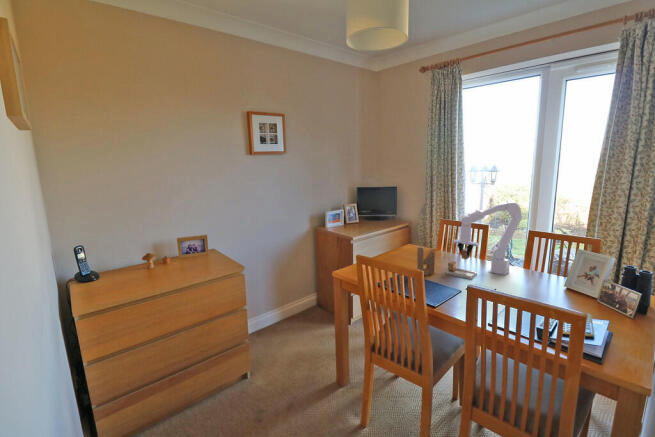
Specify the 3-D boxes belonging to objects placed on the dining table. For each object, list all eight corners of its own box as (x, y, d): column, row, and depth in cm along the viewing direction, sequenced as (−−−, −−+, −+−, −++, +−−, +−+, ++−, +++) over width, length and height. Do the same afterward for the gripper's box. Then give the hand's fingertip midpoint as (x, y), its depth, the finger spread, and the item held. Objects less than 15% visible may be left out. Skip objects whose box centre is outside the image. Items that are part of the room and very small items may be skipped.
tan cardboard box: (469, 257, 194) (469, 249, 193) (466, 259, 191) (466, 251, 190) (463, 256, 196) (464, 248, 195) (461, 258, 193) (461, 250, 192)
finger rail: (476, 275, 184) (477, 264, 183) (471, 279, 179) (472, 269, 177) (452, 269, 195) (452, 259, 193) (446, 273, 189) (446, 263, 188)
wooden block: (434, 274, 189) (434, 246, 186) (419, 276, 186) (419, 248, 183) (430, 272, 193) (431, 244, 189) (415, 274, 190) (415, 247, 186)
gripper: (480, 234, 188) (479, 255, 191) (456, 231, 198) (456, 251, 201) (476, 237, 183) (475, 259, 186) (452, 234, 193) (451, 254, 196)
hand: (465, 255), depth 193 cm, fingers closed on tan cardboard box, 3 cm apart
